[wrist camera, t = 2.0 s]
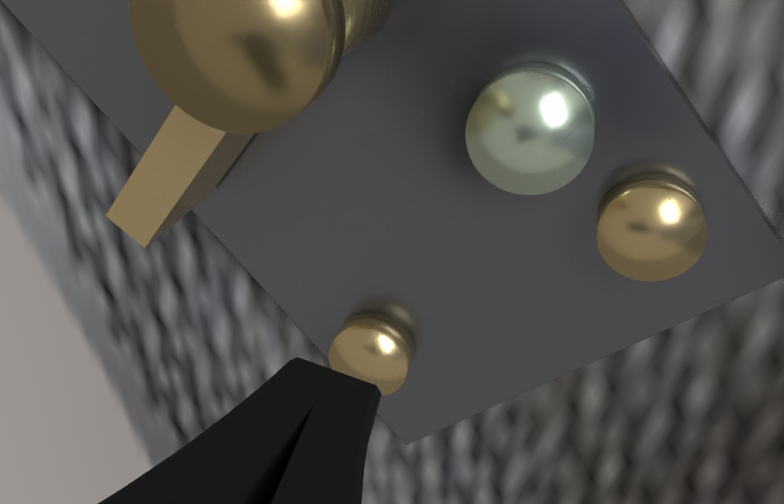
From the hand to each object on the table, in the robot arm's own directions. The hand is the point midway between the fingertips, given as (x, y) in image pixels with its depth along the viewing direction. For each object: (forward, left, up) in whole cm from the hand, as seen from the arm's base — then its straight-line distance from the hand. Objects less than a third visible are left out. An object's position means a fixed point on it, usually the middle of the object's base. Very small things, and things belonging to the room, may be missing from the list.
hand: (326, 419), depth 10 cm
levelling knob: (+5, 0, -6) cm, 8 cm away
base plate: (+3, -1, -7) cm, 8 cm away
